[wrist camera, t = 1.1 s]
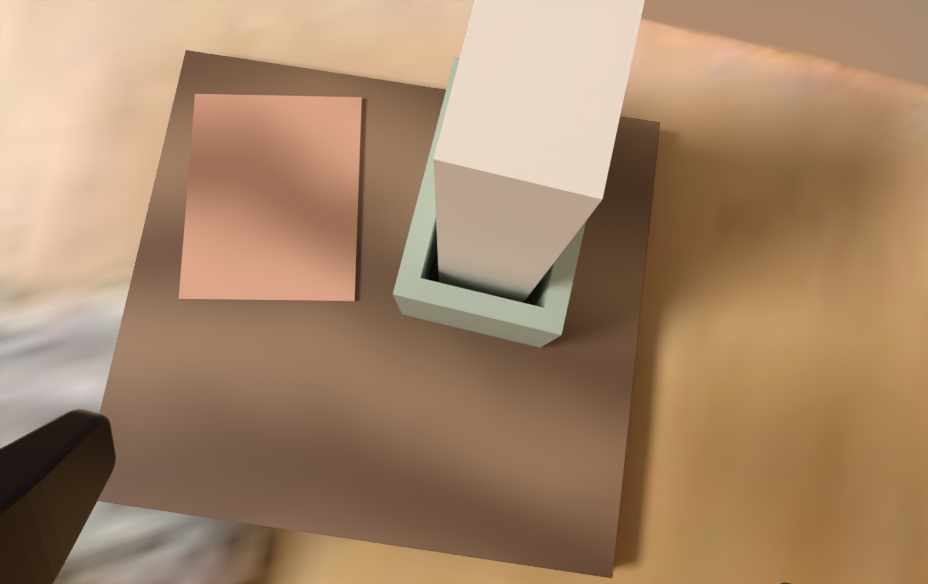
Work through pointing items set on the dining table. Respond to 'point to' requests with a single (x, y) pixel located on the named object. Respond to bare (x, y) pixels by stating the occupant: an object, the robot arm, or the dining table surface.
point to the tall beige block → (528, 136)
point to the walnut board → (360, 336)
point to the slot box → (470, 306)
